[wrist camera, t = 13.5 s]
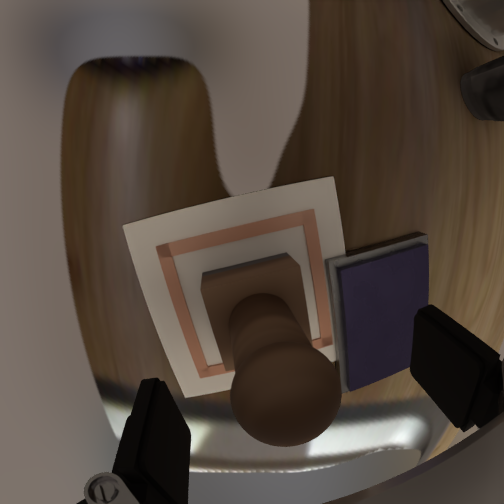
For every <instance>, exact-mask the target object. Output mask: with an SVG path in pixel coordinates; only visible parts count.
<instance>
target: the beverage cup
mask: <svg viewBox="0 0 504 504" xmlns="http://www.w3.org/2000/svg"><path fill="white" fill-rule="evenodd" d="M461 92H462V96H463V99H464V101H465V104H466V106H467V107H468V109H469V111H470V112H471V113H472V114H473V116H475V117H476V118H477V119H479V120H493V121H504V56H502V57H500V58H497V59H495V60H493V61H490V62H488V63H486V64H483V65H481V66H479V67H476V68H475V69H474V70H472V71H470V72H468V73H465V74H464V75H463V76H462V78H461Z"/></svg>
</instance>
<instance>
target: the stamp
mask: <svg viewBox="0 0 504 504" xmlns="http://www.w3.org/2000/svg"><path fill="white" fill-rule="evenodd" d="M200 291H201V294H202V298H203V301H204V304H205V308H206V311H207V314H208V318H209V321H210V324H211V327H212V331H213V334H214V337H215V340H216V343H217V346H218V349H219V352H220V355H221V359H222V362H223V365H224V368H225V370H226V371H230V370H235V375H234V378H233V381H232V385H231V391H230V400H231V406H232V410H233V413H234V415H235V417H236V419H237V421H238V423H239V424H240V425H241V427H242V428H243V429H244V430H245V431H246V432H247V433H248V434H249V435H250V436H252V437H253V438H255V439H257V440H258V441H260V442H263V443H266V444H269V445H273V446H280V447H290V446H297V445H301V444H304V443H306V442H309V441H311V440H313V439H315V438H316V437H318V436H319V435H320V434H322V433H323V432H324V431H325V430H326V429H327V428H328V427H329V426H330V424H331V423H332V422H333V420H334V419H335V417H336V415H337V412H338V410H339V407H340V403H341V397H342V389H341V382H340V378H339V375H338V373H337V371H336V369H335V367H334V365H333V364H332V363H331V361H330V360H329V359H328V358H327V357H326V356H325V355H324V354H323V353H321V352H320V351H319V350H317V349H315V348H314V347H313V344H312V337H311V330H310V323H309V316H308V310H307V303H306V297H305V291H304V285H303V279H302V273H301V267H300V265H299V264H298V263H297V262H296V261H295V260H294V259H293V258H292V257H291V256H290V255H289V254H288V253H287V252H285V253H281V254H277V255H273V256H269V257H265V258H261V259H256V260H252V261H248V262H244V263H240V264H236V265H232V266H228V267H223V268H219V269H215V270H211V271H207V272H203V273H202V279H201V288H200Z"/></svg>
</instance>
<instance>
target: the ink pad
mask: <svg viewBox="0 0 504 504" xmlns="http://www.w3.org/2000/svg"><path fill="white" fill-rule="evenodd" d="M345 253H346V254H343V255H340V256H336V257H332V258H328V259H325V266H326V274H327V281H328V288H329V296H330V304H331V313H332V322H333V331H334V341H335V352H336V361H335V366H336V371H337V373H338V375H339V378H340V382H341V389H342V393H345V392H348V391H350V392H351V391H353V390H356V389H359V388H361V387H364V386H366V385H369V384H371V383H374V382H376V381H379V380H381V379H384V378H386V377H388V376H391V375H393V374H395V373H397V372H400V371H402V370H404V369H406V368H408V367H410V362H411V353H412V342H413V329H414V316H415V315H416V314H417V311H418V310H419V309H420V308H423V307H425V306H428V296H429V255H428V234H425V233H421V232H418V233H414V234H411V235H407V236H403V237H400V238H396V239H393V240H389V241H386V242H382V243H378V244H375V245H371V246H367V247H364V248H360V249H356V250H353V251H349V252H345Z"/></svg>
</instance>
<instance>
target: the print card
mask: <svg viewBox="0 0 504 504" xmlns="http://www.w3.org/2000/svg"><path fill="white" fill-rule="evenodd" d="M123 229H124V233H125V236H126V240H127V244H128V247H129V250H130V254H131V257H132V260H133V264H134V267H135V270H136V273H137V276H138V279H139V282H140V285H141V288H142V291H143V294H144V297H145V300H146V303H147V306H148V309H149V311H150V314H151V317H152V320H153V322H154V325H155V327H156V330H157V333H158V335H159V338H160V340H161V343H162V345H163V348H164V350H165V353H166V355H167V358H168V360H169V362H170V365H171V367H172V369H173V372H174V374H175V376H176V378H177V381H178V383H179V385H180V387H181V390H182V392H183V394H184V396H185V398H187V397H193V396H199V395H204V394H210V393H215V392H220V391H225V390H230V389H231V385H232V381H233V378H234V375H235V370H230V371H226V370H225V368H224V365H223V362H222V359H221V355H220V352H219V349H218V346H217V343H216V340H215V337H214V334H213V331H212V327H211V324H210V321H209V318H208V314H207V311H206V308H205V304H204V301H203V298H202V294H201V291H200V288H201V279H202V273H203V272H207V271H211V270H215V269H219V268H223V267H228V266H232V265H236V264H240V263H244V262H248V261H252V260H256V259H261V258H265V257H269V256H273V255H277V254H281V253H285V252H287V253H288V254H289V255H290V256H291V257H292V258H293V259H294V260H295V261H296V262H297V263H298V264H299V265H300V267H301V273H302V279H303V285H304V291H305V297H306V303H307V310H308V316H309V323H310V330H311V337H312V344H313V347H314V348H315V349H317V350H319V351H320V352H321V353H323V354H324V355H325V356H326V357H327V358H328V359H329V360H330V361H331V362H333V361H336V352H335V341H334V331H333V322H332V313H331V304H330V296H329V288H328V281H327V274H326V266H325V259H328V258H332V257H336V256H340V255H343V254H346V253H345V245H344V238H343V231H342V224H341V217H340V211H339V205H338V199H337V193H336V187H335V182H334V176H331V177H326V178H320V179H315V180H309V181H304V182H299V183H294V184H289V185H284V186H279V187H274V188H270V189H265V190H260V191H256V192H251V193H247V194H243V195H238V196H233V197H229V198H225V199H220V200H216V201H212V202H208V203H204V204H200V205H196V206H192V207H188V208H184V209H180V210H176V211H172V212H169V213H165V214H161V215H157V216H154V217H150V218H146V219H143V220H139V221H136V222H132V223H129V224H125V225H123Z"/></svg>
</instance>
